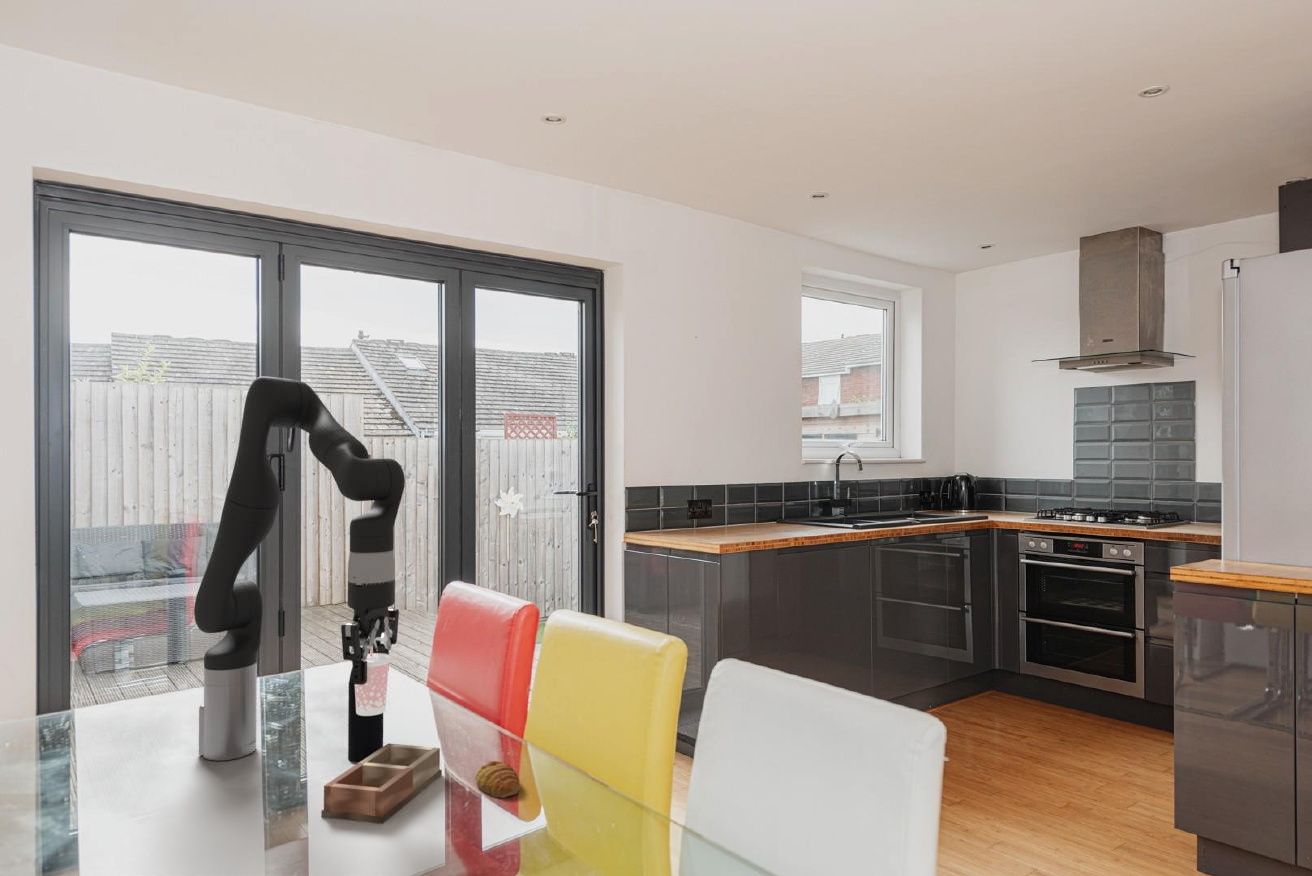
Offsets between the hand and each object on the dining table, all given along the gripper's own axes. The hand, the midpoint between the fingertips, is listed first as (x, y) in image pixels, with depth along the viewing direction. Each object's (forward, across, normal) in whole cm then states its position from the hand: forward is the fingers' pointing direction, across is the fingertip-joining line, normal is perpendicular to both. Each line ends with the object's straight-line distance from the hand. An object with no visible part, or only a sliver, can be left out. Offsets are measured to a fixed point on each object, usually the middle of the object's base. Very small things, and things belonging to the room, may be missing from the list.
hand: (370, 678), depth 138 cm
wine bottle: (+21, -20, -13) cm, 32 cm away
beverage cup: (+6, 0, 0) cm, 6 cm away
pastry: (+22, -12, +18) cm, 31 cm away
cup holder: (+21, -5, 0) cm, 22 cm away
